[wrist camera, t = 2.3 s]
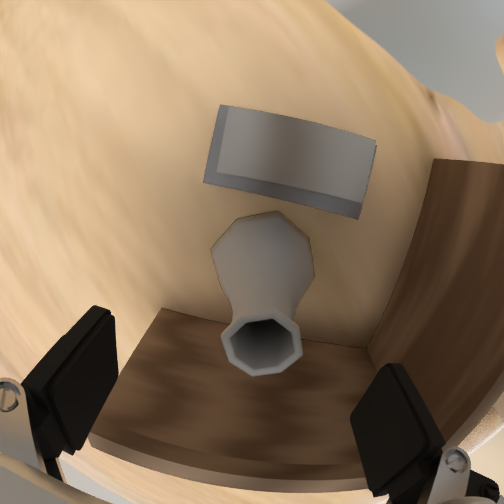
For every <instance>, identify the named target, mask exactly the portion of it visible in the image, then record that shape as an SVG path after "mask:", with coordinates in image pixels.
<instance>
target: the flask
mask: <svg viewBox="0 0 504 504" xmlns="http://www.w3.org/2000/svg"><path fill="white" fill-rule="evenodd" d="M211 253H212V257H213V260H214V264H215V268H216V271H217V275H218V279H219V282H220V286H221V288H222V290H223V292H224V293H225V295H226V296H227V298H228V300H229V302H230V304H231V306H232V310H233V316H232V322H231V324H230V325H229V326H228V327H227V328H226V329H225V330H224V331H223V332H222V333H221V340H222V343H223V346H224V349H225V352H226V355H227V358H228V361H229V362H230V363H232V364H233V365H235V366H236V367H238V368H239V369H241V370H242V371H244V372H246V373H247V374H249V375H250V376H252V377H253V376H261V375H268V374H275V373H281V372H283V371H284V370H285V369H287V368H288V367H289V366H290V365H292V364H293V363H294V362H295V361H297V360H298V359H299V358H300V357H302V356H303V349H302V342H301V336H300V329H299V326H298V325H297V324H296V323H295V322H293V321H294V316H295V310H296V308H297V306H298V304H299V302H300V300H301V299H302V297H303V295H304V293H305V291H306V290H307V288H308V287H309V285H310V284H311V282H312V280H313V279H314V277H315V273H314V266H313V260H312V253H311V247H310V240H309V238H308V237H307V236H306V235H305V234H304V233H303V232H302V231H301V230H300V229H298V228H297V227H296V226H295V225H294V224H293V223H292V222H291V221H290V220H289V219H287V218H286V217H285V216H284V215H283V214H282V213H281V212H280V211H274V212H269V213H264V214H259V215H254V216H249V217H244V218H239V219H236V220H235V222H234V223H233V224H232V225H231V226H230V227H229V229H228V230H227V231H226V232H225V233H224V234H223V235H222V237H221V238H220V239H219V240H218V241H217V242H216V244H215V245H214V246H213V247H212V248H211Z"/></svg>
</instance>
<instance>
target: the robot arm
mask: <svg viewBox="0 0 504 504" xmlns="http://www.w3.org/2000/svg"><path fill="white" fill-rule="evenodd" d="M118 374H119V372H118V361H117V348H116V332H115V317H114V316H113V315H111V312H110V310H108V309H105V308H102V307H99V306H96V305H94V306H92V307H91V308H90V309H89V310H88V311H87V312H86V313H85V314H84V315H83V316H82V317H81V318H80V320H79V321H78V322H77V323H76V324H75V325H74V326H73V327H72V328H71V329H70V330H69V331H68V332H67V333H66V334H65V335H63V336H62V337H61V338H60V339H59V340H58V341H57V342H56V343H55V345H54V346H53V347H52V348H51V349H50V350H49V351H48V352H47V354H46V355H45V356H44V357H43V358H42V359H41V360H40V362H39V363H38V364H37V365H36V366H35V367H34V369H33V370H32V371H31V372H30V373H29V374H28V376H27V377H26V378H25V379H24V380H23V382H22V383H21V384H20V383H18V382H17V381H16V380H14V379H11V378H0V504H111V503H109V502H106V501H104V500H101V499H99V498H96V497H94V496H92V495H89V494H87V493H85V492H82V491H80V490H78V489H76V488H74V487H72V486H70V485H68V484H67V482H66V479H65V477H64V474H63V471H62V468H61V465H60V462H59V459H58V457H59V456H60V454H61V452H62V450H63V451H65V452H67V453H68V454H70V455H72V456H73V455H74V453H75V451H76V450H78V451H79V450H81V448H82V447H83V445H84V443H85V441H86V439H87V437H88V435H89V433H90V431H91V429H92V427H93V425H94V423H95V421H96V419H97V417H98V415H99V413H100V411H101V409H102V407H103V406H104V404H105V402H106V400H107V398H108V396H109V394H110V392H111V391H112V389H113V387H114V385H115V383H116V381H117V379H118ZM493 407H494V408H495V409H496V411H497V412H498V414H499V415H500V417H501V418H502V420H503V421H504V392H503V393H502V394H501V396H500V397H499V398H498V400H497V401H496V402H495V404H494V405H493V406H492V408H493ZM350 423H351V427H352V430H353V433H354V437H355V440H356V444H357V448H358V451H359V455H360V458H361V462H362V466H363V470H364V473H365V477H366V481H367V485H368V488H369V490H370V491H372V493H373V497H378V496H383V495H386V494H389V499H388V501H387V503H386V504H504V497H503V496H502V495H500V496H499V494H500V492H499V487H498V485H497V483H495V481H493V480H492V479H489V478H487V477H485V476H483V475H481V474H479V473H477V472H474V471H472V470H470V468H471V461H470V459H469V456H468V454H467V453H466V452H465V451H464V450H463V449H461V448H460V447H456V446H450V447H447V448H446V449H445V450H444V451H442V449H441V448H442V447H443V446H444V445H445V444H446V442H445V440H444V438H443V436H442V434H441V432H440V430H439V428H438V427H437V425H436V423H435V421H434V419H433V417H432V415H431V413H430V412H429V410H428V408H427V406H426V404H425V402H424V401H423V399H422V397H421V395H420V394H419V392H418V390H417V388H416V387H415V385H414V383H413V381H412V380H411V378H410V376H409V375H408V373H407V371H406V370H405V368H404V366H403V365H402V364H400V363H387V364H385V365H384V366H383V367H381V368H380V370H379V371H378V373H377V375H376V376H375V378H374V379H373V381H372V383H371V384H370V386H369V387H368V389H367V391H366V392H365V394H364V395H363V397H362V398H361V400H360V401H359V403H358V404H357V406H356V407H355V408H354V410H353V411H352V413H351V415H350Z"/></svg>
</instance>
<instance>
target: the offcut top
mask: <svg viewBox="0 0 504 504" xmlns="http://www.w3.org/2000/svg"><path fill="white" fill-rule="evenodd" d="M375 144H376V140H373V139H370V138H367V137H364V136H361V135H357V134H354V133H351V132H347V131H344V130H341V129H337V128H333V127H330V126H326V125H322V124H318V123H314V122H310V121H306V120H302V119H297V118H293V117H288V116H283V115H279V114H273V113H268V112H263V111H257V110H251V109H245V108H238V107H231V106H229V110H228V114H227V119H226V124H225V129H224V135H223V140H222V145H221V151H220V156H219V162H218V167H217V172H218V173H224V174H230V175H236V176H242V177H247V178H253V179H258V180H263V181H269V182H274V183H279V184H283V185H288V186H293V187H298V188H302V189H307V190H311V191H315V192H320V193H324V194H328V195H332V196H336V197H340V198H344V199H348V200H352V201H356V202H360V203H363V201H364V197H365V192H366V188H367V184H368V179H369V174H370V170H371V165H372V160H373V155H374V149H375Z"/></svg>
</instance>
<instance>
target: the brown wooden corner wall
mask: <svg viewBox="0 0 504 504" xmlns="http://www.w3.org/2000/svg"><path fill="white" fill-rule="evenodd" d="M228 326H229V325H227V324H223V323H219V322H214V321H210V320H206V319H202V318H198V317H194V316H190V315H186V314H182V313H178V312H175V311H171V310H167V309H164V308H161V310H160V311H159V313H158V314H157V316H156V317H155V319H154V320H153V322H152V324H151V325H150V327H149V328H148V330H147V331H146V333H145V334H144V336H143V338H142V339H141V341H140V342H139V344H138V345H137V347H136V349H135V350H134V352H133V353H132V355H131V357H130V358H129V360H128V362H127V363H126V365H125V366H124V368H123V370H122V371H121V373H120V375H119V376H118V379H117V381H116V383H115V385H114V387H113V389H112V391H111V392H110V394H109V396H108V398H107V400H106V402H105V404H104V406H103V407H102V409H101V411H100V413H99V415H98V417H97V419H96V421H95V423H94V425H93V427H92V429H91V431H90V433H89V435H88V439H89V442H90V444H91V446H92V447H94V448H96V449H98V450H100V451H103V452H105V453H107V454H110V455H112V456H115V457H117V458H120V459H122V460H125V461H128V462H130V463H133V464H136V465H139V466H142V467H145V468H148V469H151V470H154V471H158V472H161V473H164V474H168V475H172V476H175V477H179V478H183V479H188V480H192V481H196V482H201V483H206V484H212V485H217V486H223V487H230V488H237V489H245V490H254V491H266V492H283V493H323V492H340V491H352V490H361V489H369V488H368V485H367V481H366V477H365V473H364V470H363V466H362V462H361V458H360V455H359V451H358V448H357V444H356V440H355V437H354V433H353V430H352V427H351V423H350V415H351V413H352V411H353V410H354V408H355V407H356V406H357V404H358V403H359V401H360V400H361V398H362V397H363V395H364V394H365V392H366V391H367V389H368V387H369V386H370V384H371V383H372V381H373V379H374V378H375V376H376V375H377V373H378V371H379V370H380V368H381V367H383V366H384V365H385V364H387V363H400V364H402V365H403V366H404V368H405V370H406V371H407V373H408V375H409V376H410V378H411V380H412V381H413V383H414V385H415V387H416V388H417V390H418V392H419V394H420V395H421V397H422V399H423V401H424V402H425V404H426V406H427V408H428V410H429V412H430V413H431V415H432V417H433V419H434V421H435V423H436V425H437V427H438V428H439V430H440V432H441V434H442V436H443V438H444V440H445V442H446V444H445V445H444V446H443V447H442V448H441V449H442V451H444V450H445V449H446V448H447V447H450V446H456V447H457V446H458V445H459V444H460V443H461V442H462V441H463V440H464V439H465V438H466V437H467V435H468V434H469V433H470V432H471V431H472V430H473V429H474V428H475V427H476V426H477V424H478V423H479V422H480V421H481V420H482V419H483V417H484V416H485V415H486V414H487V413H488V411H489V410H490V409H491V408H492V406H493V405H494V404H495V402H496V401H497V400H498V398H499V397H500V396H501V394H502V393H503V392H504V165H503V164H494V163H485V162H475V161H463V160H449V159H434V162H433V167H432V171H431V176H430V180H429V184H428V188H427V192H426V196H425V200H424V203H423V207H422V211H421V214H420V217H419V221H418V224H417V227H416V230H415V234H414V237H413V240H412V243H411V246H410V249H409V251H408V254H407V257H406V260H405V263H404V265H403V268H402V271H401V273H400V276H399V278H398V281H397V283H396V286H395V288H394V291H393V293H392V296H391V298H390V300H389V303H388V305H387V307H386V309H385V312H384V314H383V316H382V318H381V320H380V323H379V325H378V327H377V329H376V331H375V333H374V335H373V337H372V339H371V341H370V343H369V345H368V347H367V349H365V348H357V347H349V346H342V345H335V344H328V343H321V342H315V341H309V340H303V339H301V342H302V349H303V356H302V357H300V358H299V359H298V360H297V361H295V362H294V363H293V364H292V365H290V366H289V367H288V368H287V369H285V370H284V371H283V372H281V373H275V374H268V375H261V376H253V377H252V376H250V375H249V374H247V373H246V372H244V371H242V370H241V369H239V368H238V367H236V366H235V365H233V364H232V363H230V362H229V361H228V358H227V355H226V352H225V349H224V346H223V343H222V340H221V333H222V332H223V331H224V330H225V329H226V328H227V327H228Z"/></svg>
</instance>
